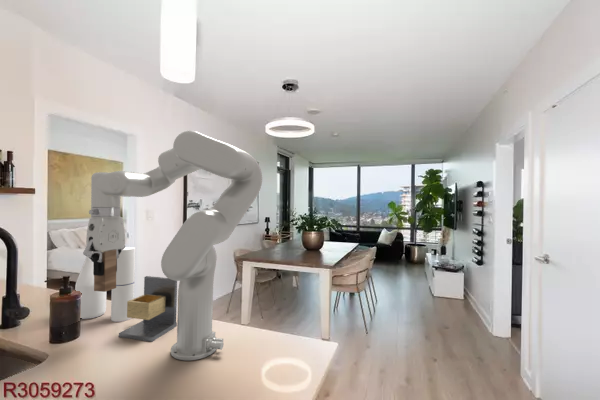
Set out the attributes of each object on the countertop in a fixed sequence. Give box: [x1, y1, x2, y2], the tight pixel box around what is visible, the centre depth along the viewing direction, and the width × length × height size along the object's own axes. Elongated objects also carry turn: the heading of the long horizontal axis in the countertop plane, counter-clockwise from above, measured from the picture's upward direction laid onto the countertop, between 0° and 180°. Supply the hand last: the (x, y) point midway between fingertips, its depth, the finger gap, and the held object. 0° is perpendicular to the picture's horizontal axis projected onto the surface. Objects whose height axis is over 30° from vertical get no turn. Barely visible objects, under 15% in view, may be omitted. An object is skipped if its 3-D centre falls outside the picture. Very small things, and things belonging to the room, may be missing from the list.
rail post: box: [94, 250, 116, 293], centre depth 92 cm, size 4×4×14 cm
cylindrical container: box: [110, 246, 136, 323], centre depth 109 cm, size 7×7×25 cm
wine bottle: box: [74, 251, 108, 320], centre depth 111 cm, size 10×10×30 cm
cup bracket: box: [118, 275, 178, 343], centre depth 98 cm, size 12×12×16 cm
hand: (105, 272), depth 92 cm, fingers closed on rail post, 4 cm apart
